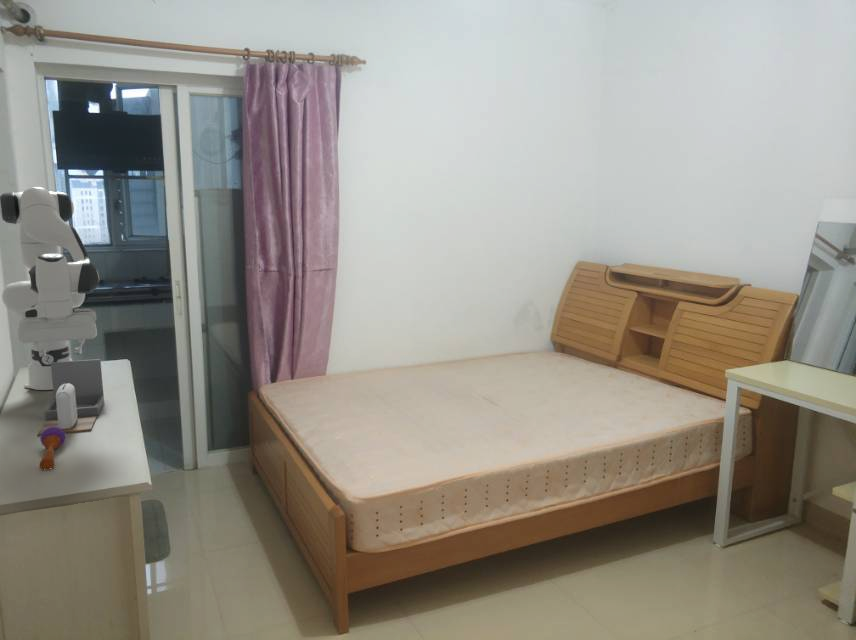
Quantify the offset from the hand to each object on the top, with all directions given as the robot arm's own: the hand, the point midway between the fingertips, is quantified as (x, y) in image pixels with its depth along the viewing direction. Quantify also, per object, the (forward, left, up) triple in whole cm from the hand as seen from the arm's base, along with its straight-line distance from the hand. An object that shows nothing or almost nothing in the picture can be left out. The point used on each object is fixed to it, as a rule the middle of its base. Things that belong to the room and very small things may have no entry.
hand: (60, 354), depth 192 cm
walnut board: (+1, 0, -22) cm, 22 cm away
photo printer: (+1, 0, -22) cm, 22 cm away
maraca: (+25, 0, -23) cm, 34 cm away
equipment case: (-14, 0, -22) cm, 26 cm away
